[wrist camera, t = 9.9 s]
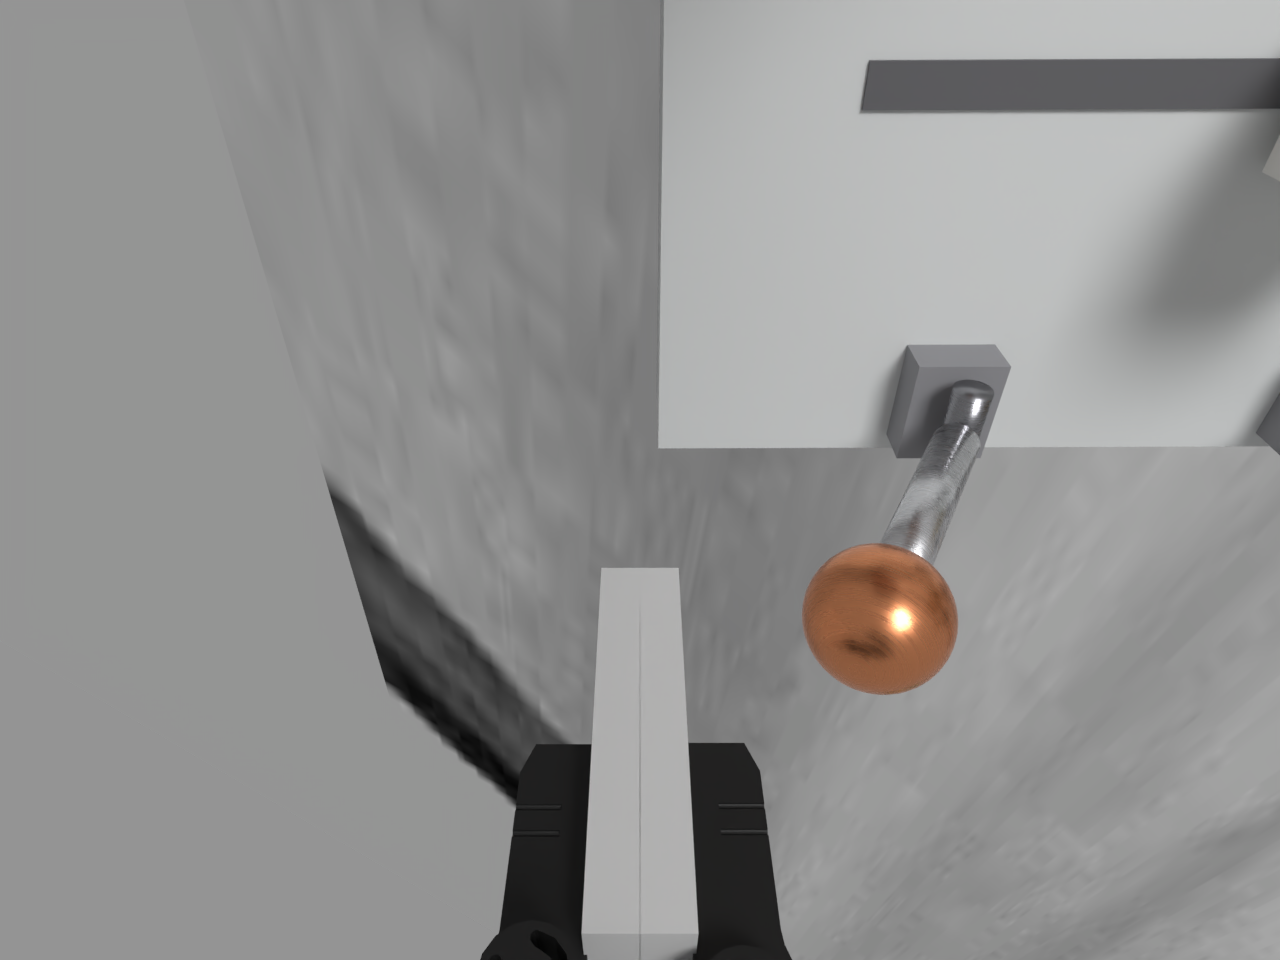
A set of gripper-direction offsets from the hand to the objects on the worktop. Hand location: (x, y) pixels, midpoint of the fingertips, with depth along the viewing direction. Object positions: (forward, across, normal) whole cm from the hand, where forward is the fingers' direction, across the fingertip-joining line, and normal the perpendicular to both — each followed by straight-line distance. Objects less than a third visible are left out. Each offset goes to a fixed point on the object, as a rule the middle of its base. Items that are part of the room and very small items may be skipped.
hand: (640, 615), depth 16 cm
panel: (+12, +13, +4) cm, 18 cm away
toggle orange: (+6, +9, 0) cm, 11 cm away
